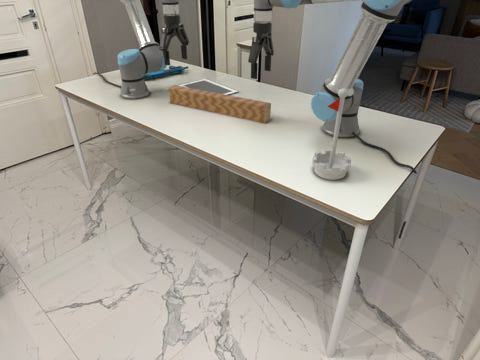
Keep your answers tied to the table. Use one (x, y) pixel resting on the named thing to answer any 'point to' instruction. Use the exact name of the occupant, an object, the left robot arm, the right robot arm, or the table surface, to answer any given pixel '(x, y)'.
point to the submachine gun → (164, 72)
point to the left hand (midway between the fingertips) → (176, 61)
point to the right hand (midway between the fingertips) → (261, 74)
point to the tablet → (209, 87)
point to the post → (221, 103)
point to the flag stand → (333, 149)
